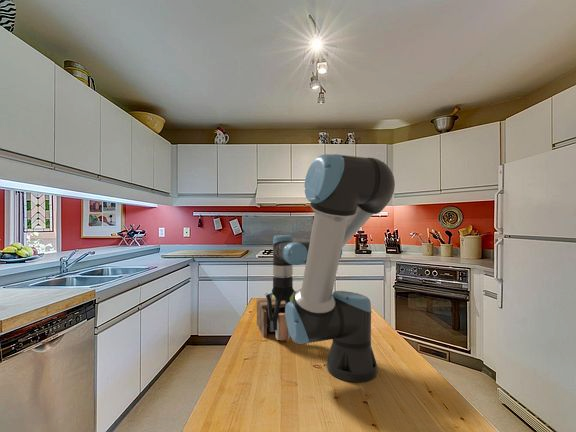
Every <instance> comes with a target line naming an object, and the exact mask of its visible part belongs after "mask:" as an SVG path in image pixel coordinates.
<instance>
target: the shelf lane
mask: <svg viewBox="0 0 576 432" xmlns="http://www.w3.org/2000/svg"><path fill="white" fill-rule="evenodd" d="M275 300H276V298H271V301H272V312H274V308H275ZM285 306H286V303H285V301H284V300H283V301H281V304H280V308H279V312H280V311H281V312H282V313H285ZM267 313H268V307H267V298H266V297H265V298H262V297H261V298H256V325H257V327H258V329H259V331H260V333H261V335H262V336H263V338H267V337H268V327H267Z"/></svg>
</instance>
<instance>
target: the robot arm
mask: <svg viewBox="0 0 576 432" xmlns="http://www.w3.org/2000/svg"><path fill="white" fill-rule="evenodd" d="M395 185H396V182H395V176H394V174H393V172H392V169H391V168H390V167H389V166H388V165H387V164H386V163H385V162H384V161H382V160H381V159H378V158H375V157H363V156H353V155H344V154H337V153H336V154H333V153H332V154H327V153H326V154H325V153H324V154H321V155H318V156H317V157H316V158H315V159H314V160H313V161H312V162H311V163H310V165H309V167H308V169H307V172H306V175H305V180H304V188H305V189H304V195H305V198H306V199H307V201H308V202H310V204H309V206H310V207H309V208H311V209H312V211H313V212H314V217H313V222H312V227H311V233H310V238H309V239H310V240H309V241H293V236H292V235H288V234H287V235H283V234H282V235H274V236H273V237H272V239H273V241H272V264H273V265H272V275H273V276H272V289H271V291H272V292H270V291H269V292H270V293H268V292H266V293H265V294H264V296H265V298H267V307H268V318H269V320H270V321H273V329H274V330H275V332H274V333H275V339H276V340H277V341H278V340H279V321H278V320H277V319H278V313H279V308H280V304H281V301H283V300H284V301H285V303H286V306H285V317H286V323H287V327H288V339H292V341H293V342H294V343H295V344H300V345H302V344H311V343H317V342H323V341H329V340H332V343H331V345H330V349H329V352H328V354H327V358H326V368H327V372H329V374H331V375H332V376H333V377H335V378H337V379H339V380H342V381H346V382H352V383H362V382H368V381H370V380H373V379H375V378H376V376H377V374H378V363H377V360H376V358H375V354H374V350H373V347H372V311H373V310H372V305H371V304H372V303H371V300H370V298H369V297H368V296H366V295H364V294H361V293H359V292H358V293H356V292H354V291H353V292H352V291H345V290H335V291H334V286H335V281H336V277H337V271H338V268H339V262H340V260H341V259H342V255H343V247H344V246H346V244H347V243H348V242H349V241H350V240H351V239H352V238H353V237H354V235H356V234H357V232H358V231H359V230H360V229H361V228H362V227H363V226H364V225H365V224H366V223H367V221H368V220H369V219H371V218H372V217H373V215H378V214H380V213H381V212H382V211H383V210H384V209H385V208H386V207H387V206H388V204H390V202H391V200H392V197H393V195H394V193H395V192H394V191H395V187H396V186H395ZM302 264H305V269H304V273H303V279H302V284H301V288H299V289H298V290H294V287H293V285H294V284H293V281H294V280H293V279H294V278H293V274H294V272H293V271H294V270H293V266H300V265H302ZM292 294H293V296H294V298H293V302H292V301H290V297H291V295H292ZM272 295H274V296H275V298H276V300H275V308H274V314H273V317H272V301H271V298H272ZM288 339H287V340H288ZM279 341H280V340H279Z"/></svg>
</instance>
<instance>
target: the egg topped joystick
mask: <svg viewBox="0 0 576 432" xmlns="http://www.w3.org/2000/svg"><path fill="white" fill-rule="evenodd" d="M273 314H274V312H272V317H273ZM277 320H278V321H279V341H288V327H287V323H286V317H285V313H282V312H281V311H280V312H279V313H278V319H277ZM267 330H269V332H270V333H273V332H274V333H275V330H274V329H273V321H270V320H269V318H268V313H267Z"/></svg>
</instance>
